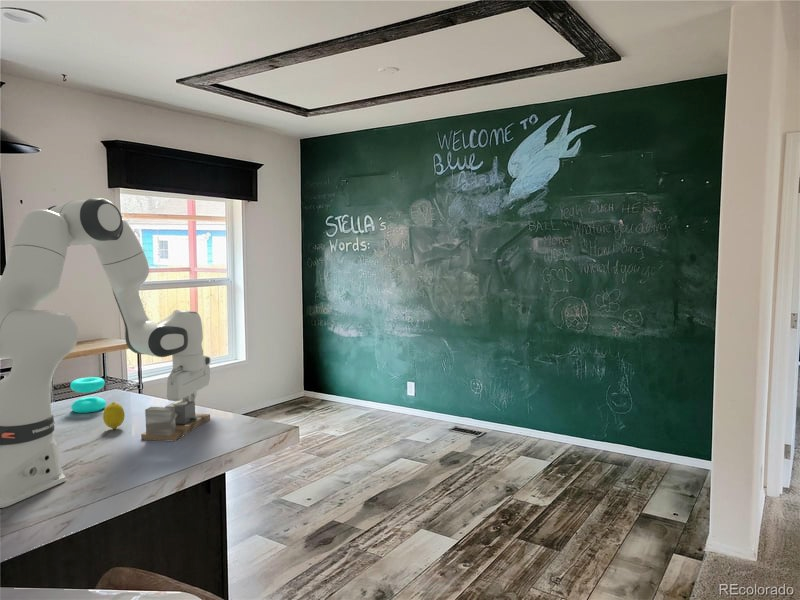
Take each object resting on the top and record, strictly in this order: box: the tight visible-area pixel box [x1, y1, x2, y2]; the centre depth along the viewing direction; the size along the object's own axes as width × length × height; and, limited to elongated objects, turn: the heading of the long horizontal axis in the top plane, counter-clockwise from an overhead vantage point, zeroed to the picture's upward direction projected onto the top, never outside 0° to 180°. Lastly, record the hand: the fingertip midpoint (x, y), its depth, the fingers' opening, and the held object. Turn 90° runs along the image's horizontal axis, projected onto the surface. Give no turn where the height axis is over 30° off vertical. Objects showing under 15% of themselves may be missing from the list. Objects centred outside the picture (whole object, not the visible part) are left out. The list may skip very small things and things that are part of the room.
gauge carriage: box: [164, 400, 197, 424], centre depth 170 cm, size 9×8×5 cm
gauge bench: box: [140, 406, 211, 442], centre depth 170 cm, size 21×10×8 cm, turn 172°
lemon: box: [102, 401, 125, 430], centre depth 169 cm, size 6×6×8 cm
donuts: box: [69, 376, 107, 414], centre depth 190 cm, size 10×10×10 cm
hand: (189, 407), depth 177 cm, fingers closed
